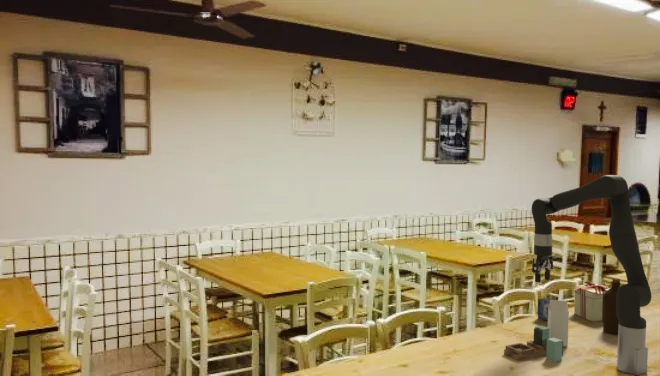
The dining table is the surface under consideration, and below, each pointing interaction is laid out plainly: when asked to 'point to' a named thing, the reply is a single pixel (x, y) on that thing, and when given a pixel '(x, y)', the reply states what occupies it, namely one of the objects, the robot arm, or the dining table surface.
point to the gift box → (589, 301)
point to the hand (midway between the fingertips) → (542, 280)
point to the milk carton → (558, 320)
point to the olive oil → (611, 309)
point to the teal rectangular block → (554, 349)
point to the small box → (543, 308)
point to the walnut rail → (530, 346)
